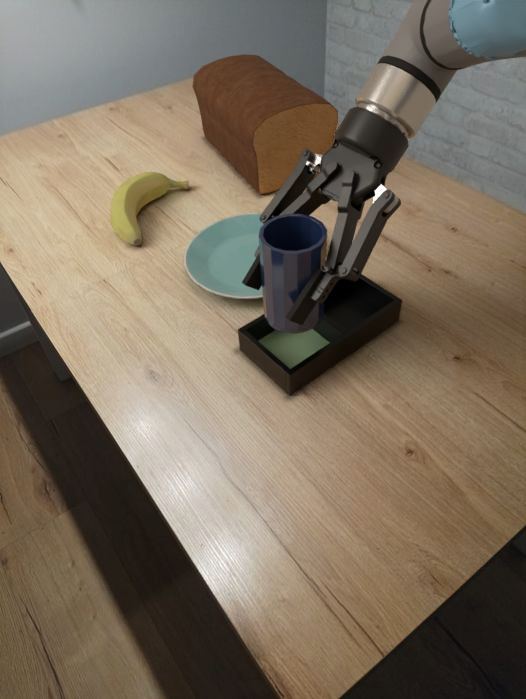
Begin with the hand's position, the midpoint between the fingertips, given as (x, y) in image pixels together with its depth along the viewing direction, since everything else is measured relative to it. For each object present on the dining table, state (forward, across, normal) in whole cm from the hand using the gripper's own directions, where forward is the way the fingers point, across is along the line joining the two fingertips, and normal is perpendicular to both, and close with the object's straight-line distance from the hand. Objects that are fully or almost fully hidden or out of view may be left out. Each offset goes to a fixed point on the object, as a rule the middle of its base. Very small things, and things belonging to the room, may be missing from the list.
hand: (271, 303), depth 61 cm
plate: (0, +19, -16) cm, 25 cm away
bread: (-17, +47, -33) cm, 60 cm away
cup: (0, 0, -5) cm, 5 cm away
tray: (+2, 0, -14) cm, 14 cm away
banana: (+3, +44, -13) cm, 46 cm away
